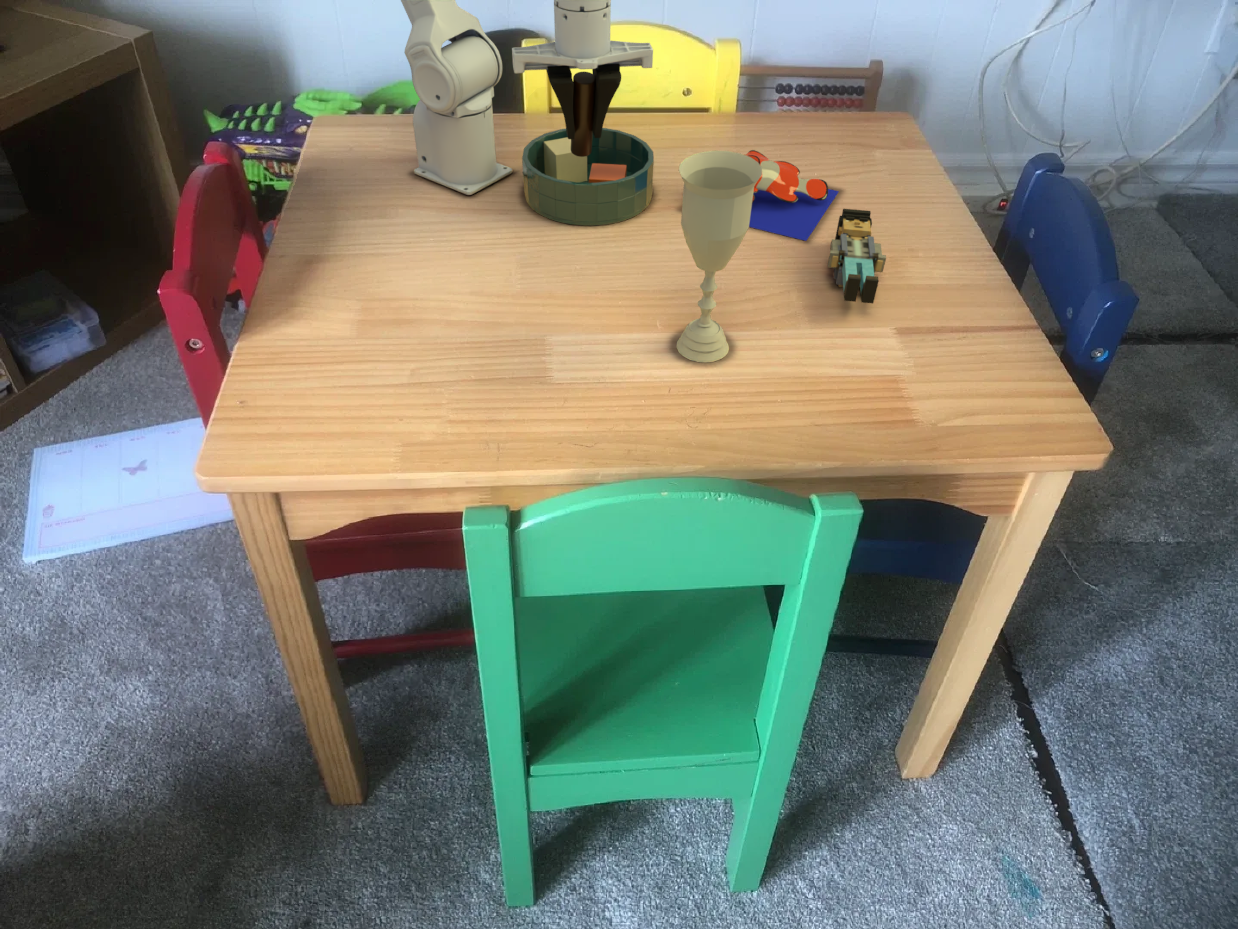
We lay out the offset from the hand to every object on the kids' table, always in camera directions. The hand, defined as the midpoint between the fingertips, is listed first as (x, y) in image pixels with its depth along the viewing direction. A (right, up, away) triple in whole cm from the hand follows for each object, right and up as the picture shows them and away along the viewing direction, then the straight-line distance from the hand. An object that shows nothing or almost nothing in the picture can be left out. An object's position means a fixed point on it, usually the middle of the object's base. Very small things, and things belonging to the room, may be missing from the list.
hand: (583, 134), depth 101 cm
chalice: (+12, -25, -13) cm, 31 cm away
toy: (+29, -17, -4) cm, 33 cm away
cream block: (-3, -1, +11) cm, 11 cm away
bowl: (0, -4, +9) cm, 10 cm away
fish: (+21, -5, +9) cm, 23 cm away
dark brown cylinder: (0, -1, +3) cm, 3 cm away
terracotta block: (+3, -6, +6) cm, 9 cm away
